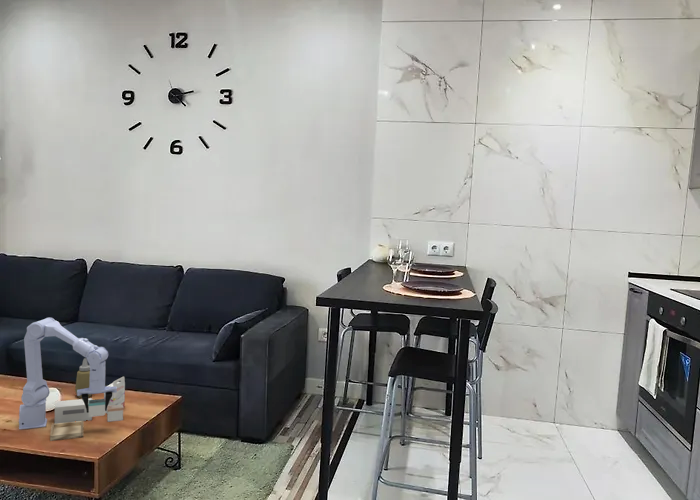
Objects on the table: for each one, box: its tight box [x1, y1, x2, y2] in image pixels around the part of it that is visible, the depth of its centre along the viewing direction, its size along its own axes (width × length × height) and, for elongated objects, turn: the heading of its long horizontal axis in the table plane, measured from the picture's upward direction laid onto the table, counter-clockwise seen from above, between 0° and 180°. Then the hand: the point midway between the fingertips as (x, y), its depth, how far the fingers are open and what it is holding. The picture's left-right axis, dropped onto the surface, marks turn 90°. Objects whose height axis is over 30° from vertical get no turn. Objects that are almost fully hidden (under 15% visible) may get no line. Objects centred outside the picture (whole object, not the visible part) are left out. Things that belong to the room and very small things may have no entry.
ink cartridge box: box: [103, 376, 126, 414], centre depth 248 cm, size 9×5×15 cm, turn 168°
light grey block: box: [106, 404, 124, 423], centre depth 239 cm, size 6×4×6 cm
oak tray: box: [49, 421, 85, 442], centre depth 224 cm, size 12×12×2 cm
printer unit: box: [54, 397, 93, 424], centre depth 237 cm, size 14×8×7 cm, turn 115°
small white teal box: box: [88, 398, 106, 418], centre depth 227 cm, size 6×4×6 cm
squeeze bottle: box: [74, 357, 93, 399], centre depth 262 cm, size 8×8×18 cm
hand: (96, 410), depth 227 cm, fingers closed on small white teal box, 6 cm apart
